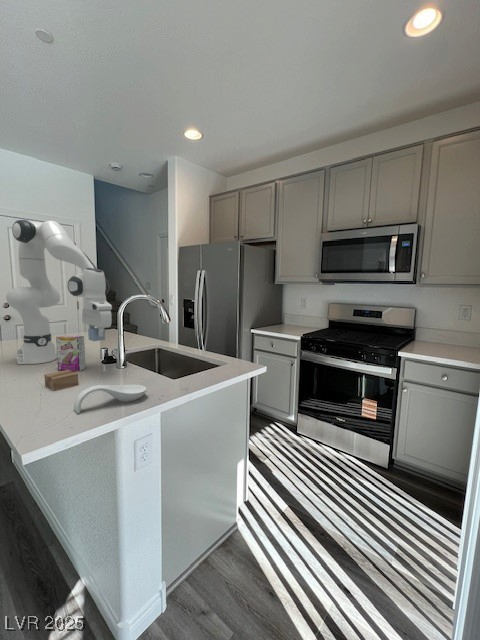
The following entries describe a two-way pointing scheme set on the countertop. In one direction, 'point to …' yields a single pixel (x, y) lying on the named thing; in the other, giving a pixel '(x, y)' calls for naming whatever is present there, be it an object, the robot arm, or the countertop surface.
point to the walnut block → (61, 380)
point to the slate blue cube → (95, 334)
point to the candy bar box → (70, 352)
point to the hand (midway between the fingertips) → (96, 335)
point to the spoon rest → (113, 393)
